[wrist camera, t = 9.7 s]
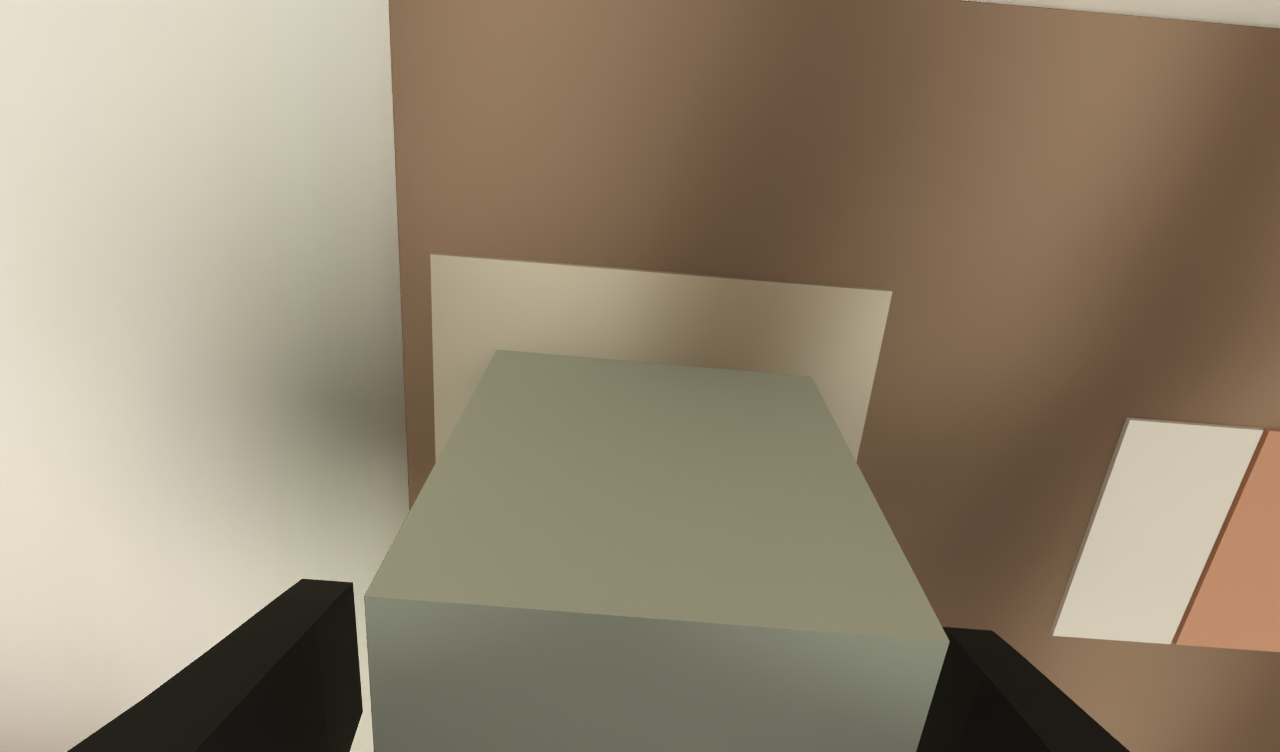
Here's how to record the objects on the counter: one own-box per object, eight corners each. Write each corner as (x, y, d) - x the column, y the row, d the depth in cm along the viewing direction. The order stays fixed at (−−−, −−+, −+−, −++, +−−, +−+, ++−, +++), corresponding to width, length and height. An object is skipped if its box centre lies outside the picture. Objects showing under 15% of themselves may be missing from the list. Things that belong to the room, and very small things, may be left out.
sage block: (811, 376, 12) (950, 641, 7) (765, 626, 14) (840, 998, 8) (497, 349, 12) (364, 595, 6) (492, 606, 14) (387, 967, 8)
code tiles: (1396, 438, 12) (1401, 441, 12) (1289, 649, 14) (1292, 653, 14) (1126, 417, 12) (1130, 419, 12) (1050, 631, 14) (1052, 635, 14)
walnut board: (1931, 91, 11) (2013, 92, 10) (1415, 852, 17) (1446, 883, 16) (400, -45, 11) (383, -51, 10) (429, 786, 17) (420, 815, 16)
